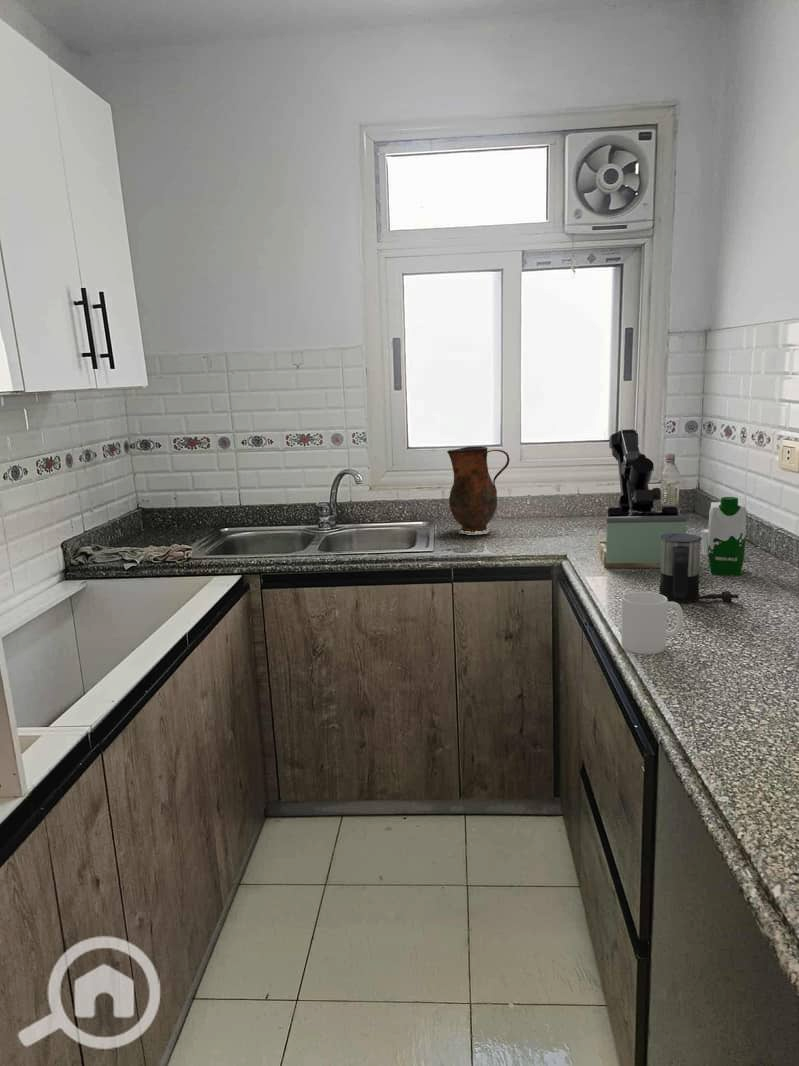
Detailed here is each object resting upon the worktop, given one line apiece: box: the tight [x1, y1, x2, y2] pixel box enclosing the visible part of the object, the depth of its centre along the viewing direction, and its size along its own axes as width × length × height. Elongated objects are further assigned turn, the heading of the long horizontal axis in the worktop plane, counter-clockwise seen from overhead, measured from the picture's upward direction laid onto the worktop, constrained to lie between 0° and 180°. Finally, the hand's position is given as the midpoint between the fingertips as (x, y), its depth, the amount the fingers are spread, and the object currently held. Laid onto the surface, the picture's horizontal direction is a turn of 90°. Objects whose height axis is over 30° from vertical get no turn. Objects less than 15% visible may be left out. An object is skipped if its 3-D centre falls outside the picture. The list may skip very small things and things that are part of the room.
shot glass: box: [700, 528, 708, 557], centre depth 204 cm, size 7×7×7 cm
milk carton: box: [707, 496, 747, 576], centre depth 185 cm, size 9×9×20 cm
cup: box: [620, 591, 684, 656], centre depth 138 cm, size 8×12×10 cm
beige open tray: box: [599, 540, 661, 569], centre depth 200 cm, size 12×21×5 cm, turn 81°
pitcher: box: [446, 445, 511, 532], centre depth 246 cm, size 17×21×30 cm
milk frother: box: [658, 533, 739, 604], centre depth 164 cm, size 14×16×15 cm
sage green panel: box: [605, 515, 688, 563], centre depth 192 cm, size 2×20×13 cm, turn 81°
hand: (644, 541), depth 193 cm, fingers closed, pressing on sage green panel
